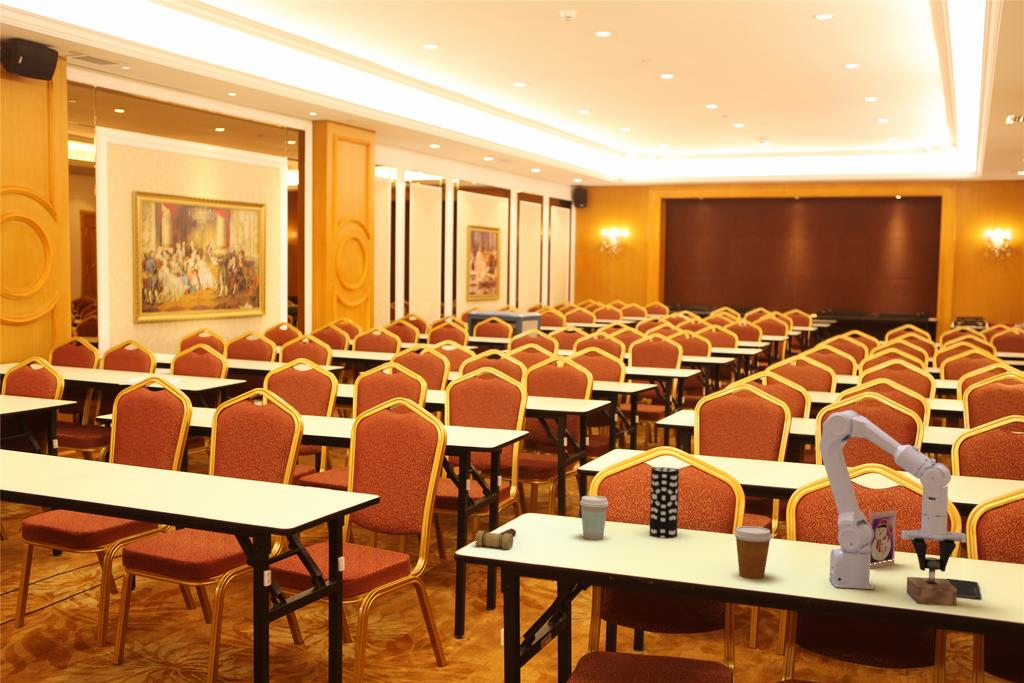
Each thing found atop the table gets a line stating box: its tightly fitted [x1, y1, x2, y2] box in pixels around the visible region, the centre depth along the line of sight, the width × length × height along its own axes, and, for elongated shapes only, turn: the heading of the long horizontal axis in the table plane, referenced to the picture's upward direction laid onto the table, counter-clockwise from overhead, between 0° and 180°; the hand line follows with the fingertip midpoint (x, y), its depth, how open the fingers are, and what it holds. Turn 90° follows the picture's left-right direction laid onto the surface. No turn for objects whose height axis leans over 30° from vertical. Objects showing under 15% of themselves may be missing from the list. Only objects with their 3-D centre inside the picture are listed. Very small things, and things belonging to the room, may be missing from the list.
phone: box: [945, 578, 982, 601], centre depth 254 cm, size 8×1×15 cm
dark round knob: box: [925, 556, 942, 584], centre depth 245 cm, size 4×4×7 cm
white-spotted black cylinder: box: [649, 466, 680, 539], centre depth 307 cm, size 8×8×20 cm
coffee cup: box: [579, 494, 609, 541], centre depth 301 cm, size 8×8×12 cm
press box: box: [906, 576, 958, 606], centre depth 245 cm, size 9×9×4 cm
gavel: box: [474, 528, 517, 551], centre depth 295 cm, size 21×5×10 cm
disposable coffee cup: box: [733, 525, 773, 579], centre depth 263 cm, size 10×10×12 cm
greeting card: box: [868, 509, 897, 569], centre depth 278 cm, size 11×7×15 cm, turn 123°
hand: (932, 570), depth 245 cm, fingers closed on dark round knob, 4 cm apart
